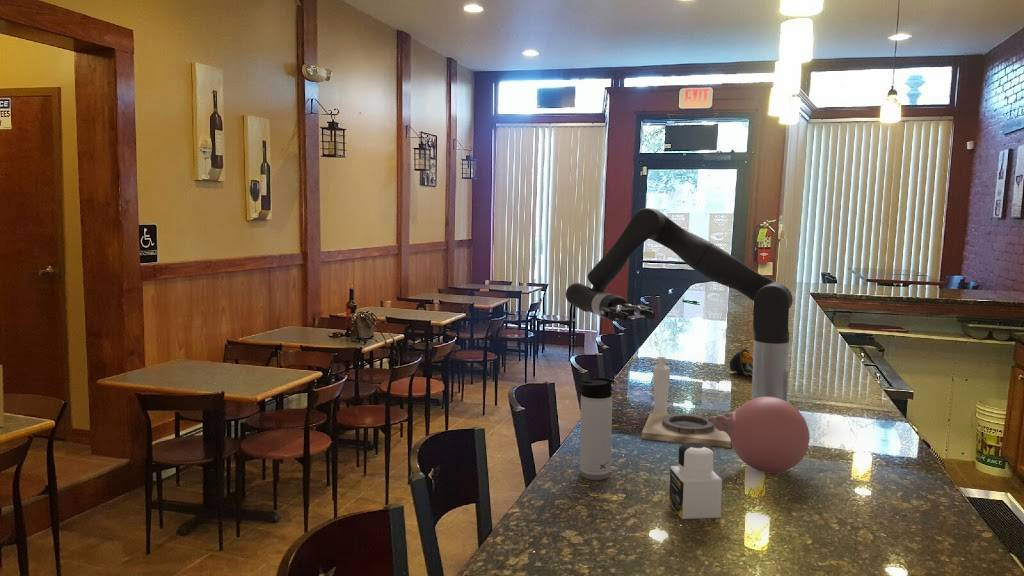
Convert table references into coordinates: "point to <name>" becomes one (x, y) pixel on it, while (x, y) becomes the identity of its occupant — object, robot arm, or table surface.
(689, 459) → the medicine bottle
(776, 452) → the balloon
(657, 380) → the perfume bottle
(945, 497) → the table surface
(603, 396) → the travel mug
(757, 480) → the table surface
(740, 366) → the black and orange lump
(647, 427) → the hub board
